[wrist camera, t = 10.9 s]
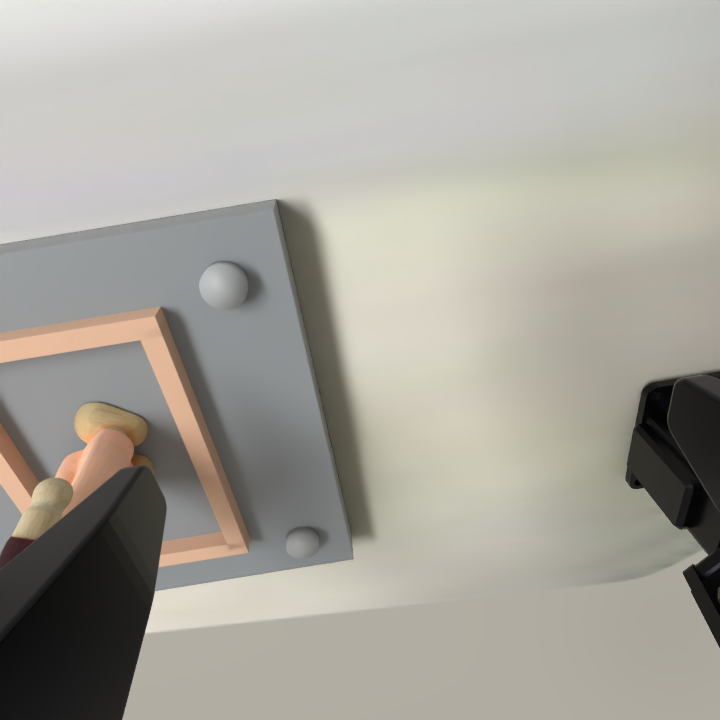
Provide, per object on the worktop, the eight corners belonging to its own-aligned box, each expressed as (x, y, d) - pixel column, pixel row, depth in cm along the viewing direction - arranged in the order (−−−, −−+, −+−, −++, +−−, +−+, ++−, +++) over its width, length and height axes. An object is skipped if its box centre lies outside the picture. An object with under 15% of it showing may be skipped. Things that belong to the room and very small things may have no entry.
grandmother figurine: (36, 384, 19) (-343, 815, 8) (137, 375, 19) (-99, 786, 8) (101, 523, 23) (-93, 938, 12) (185, 514, 23) (68, 916, 12)
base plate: (276, 199, 18) (271, 215, 16) (351, 535, 27) (354, 572, 25) (-222, 281, 18) (-289, 307, 16) (25, 588, 27) (2, 629, 25)
